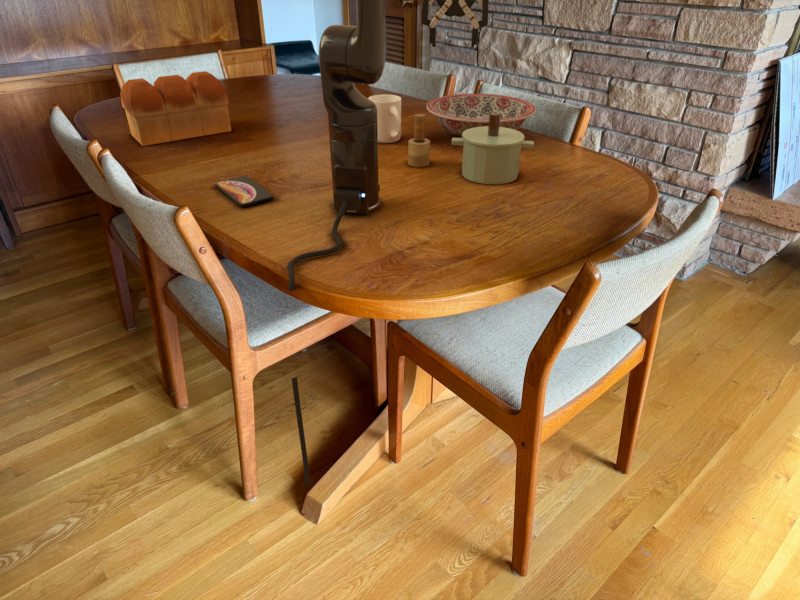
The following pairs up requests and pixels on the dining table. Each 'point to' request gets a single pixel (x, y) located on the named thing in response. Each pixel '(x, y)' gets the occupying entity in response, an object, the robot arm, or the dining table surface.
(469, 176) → the pot
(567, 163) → the dining table surface
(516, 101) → the ceramic bowl
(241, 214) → the dining table surface
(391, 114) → the mug
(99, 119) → the dining table surface
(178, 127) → the bread
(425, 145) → the rubber stamp
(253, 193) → the smartphone
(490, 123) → the lid
